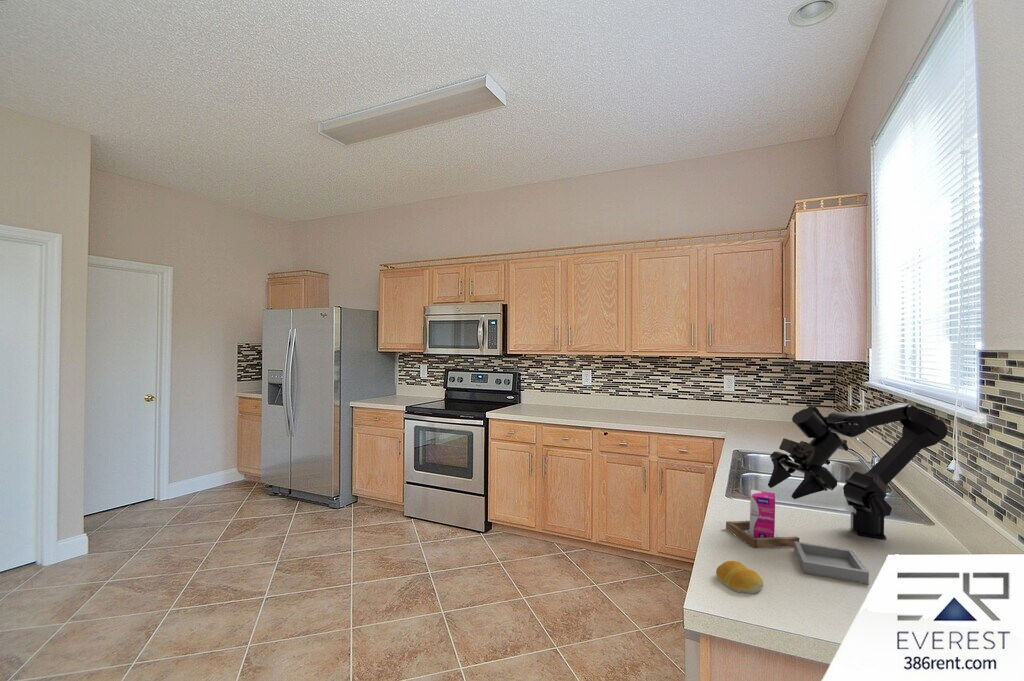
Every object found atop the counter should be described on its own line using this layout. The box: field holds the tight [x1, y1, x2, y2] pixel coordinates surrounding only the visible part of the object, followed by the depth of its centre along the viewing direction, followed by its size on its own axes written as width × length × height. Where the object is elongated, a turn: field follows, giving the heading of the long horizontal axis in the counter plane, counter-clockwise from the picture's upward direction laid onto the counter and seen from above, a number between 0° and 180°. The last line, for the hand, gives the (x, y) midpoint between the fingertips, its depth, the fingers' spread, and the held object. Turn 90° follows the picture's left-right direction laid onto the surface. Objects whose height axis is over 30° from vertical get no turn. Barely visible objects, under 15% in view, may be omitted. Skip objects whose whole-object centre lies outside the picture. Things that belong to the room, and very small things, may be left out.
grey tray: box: [793, 541, 870, 584], centre depth 108 cm, size 12×12×2 cm
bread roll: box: [715, 560, 764, 594], centre depth 100 cm, size 8×9×4 cm
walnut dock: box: [725, 520, 800, 549], centre depth 124 cm, size 12×12×2 cm
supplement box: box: [749, 489, 776, 538], centre depth 125 cm, size 6×6×12 cm
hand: (780, 492), depth 125 cm, fingers open, 9 cm apart
